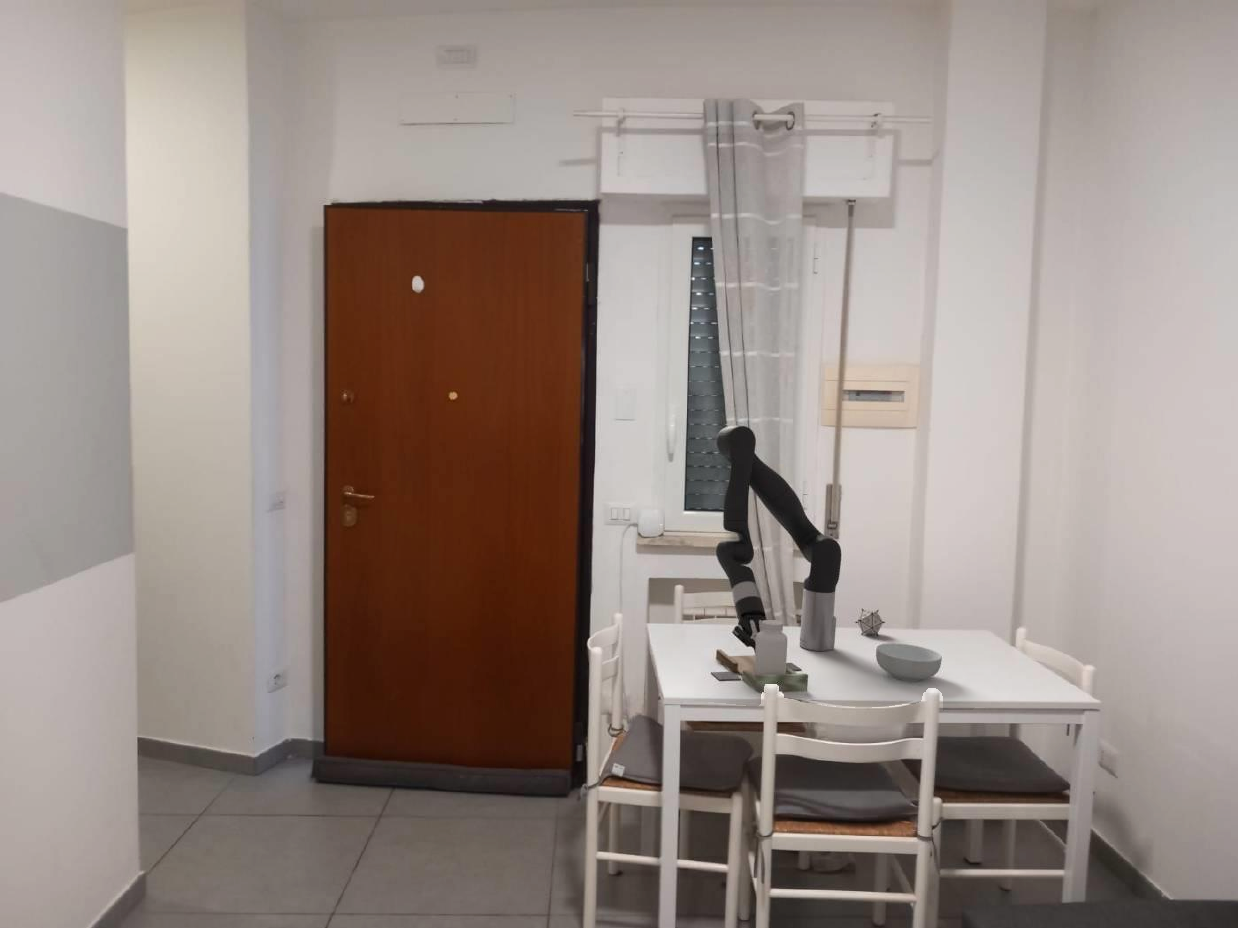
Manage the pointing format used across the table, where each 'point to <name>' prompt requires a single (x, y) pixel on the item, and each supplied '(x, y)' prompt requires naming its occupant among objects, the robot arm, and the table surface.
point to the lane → (746, 670)
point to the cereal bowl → (908, 661)
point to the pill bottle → (770, 649)
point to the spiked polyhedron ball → (870, 622)
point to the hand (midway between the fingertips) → (763, 659)
